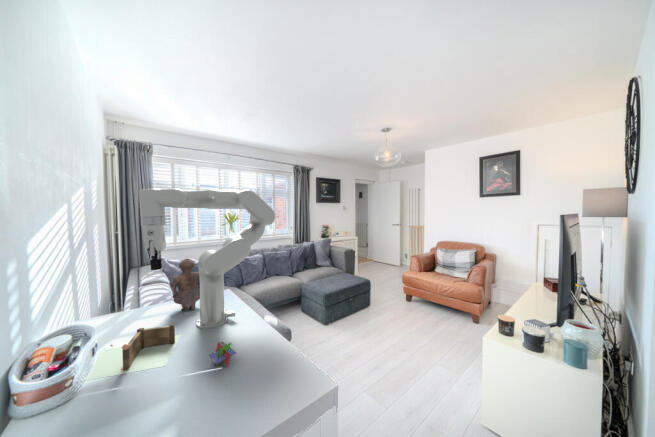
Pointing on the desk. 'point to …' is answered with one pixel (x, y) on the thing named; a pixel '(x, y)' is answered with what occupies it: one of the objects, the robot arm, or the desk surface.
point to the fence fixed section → (157, 335)
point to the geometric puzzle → (222, 353)
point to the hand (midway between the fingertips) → (156, 269)
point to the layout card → (146, 359)
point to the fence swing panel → (131, 350)
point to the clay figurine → (186, 286)
